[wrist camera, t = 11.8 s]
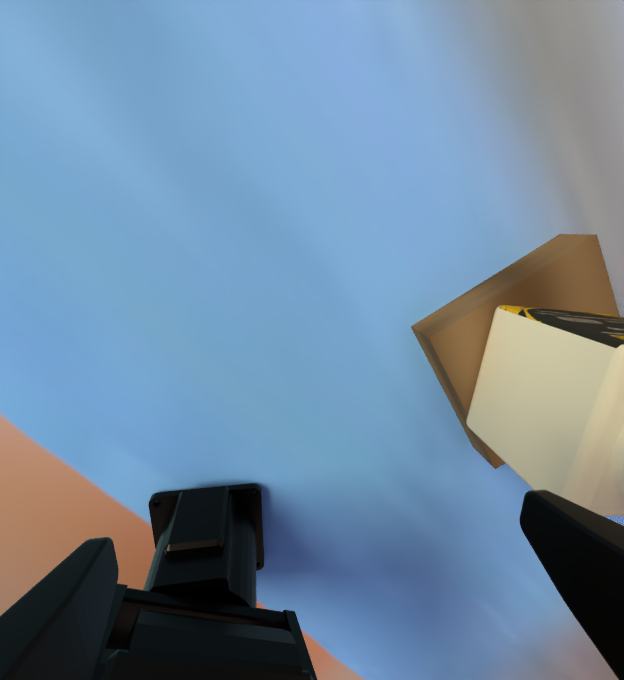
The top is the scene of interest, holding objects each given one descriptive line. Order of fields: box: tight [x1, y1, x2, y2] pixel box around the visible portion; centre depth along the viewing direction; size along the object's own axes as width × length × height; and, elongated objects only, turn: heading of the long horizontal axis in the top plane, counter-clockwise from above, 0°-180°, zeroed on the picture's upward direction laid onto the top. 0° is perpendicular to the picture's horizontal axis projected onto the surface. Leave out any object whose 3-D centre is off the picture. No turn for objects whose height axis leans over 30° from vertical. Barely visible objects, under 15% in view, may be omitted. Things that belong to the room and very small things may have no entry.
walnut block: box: [411, 234, 620, 469], centre depth 22 cm, size 10×10×3 cm
